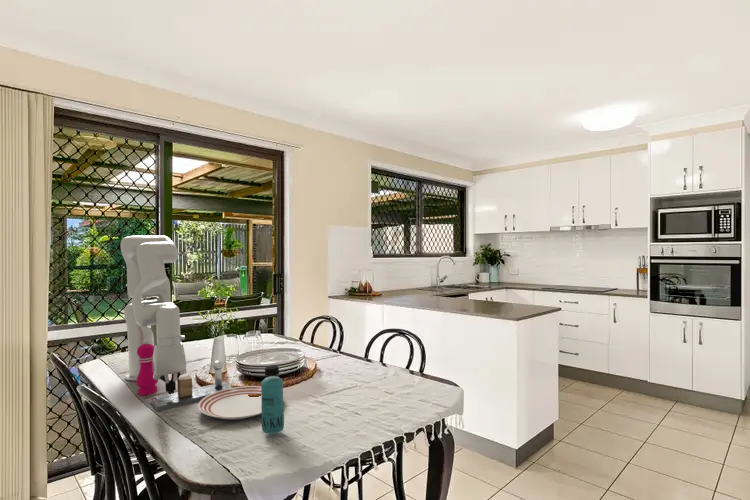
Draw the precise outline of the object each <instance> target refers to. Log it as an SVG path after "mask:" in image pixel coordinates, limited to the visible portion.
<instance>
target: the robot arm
mask: <svg viewBox="0 0 750 500" xmlns="http://www.w3.org/2000/svg"><path fill="white" fill-rule="evenodd" d="M120 252H121V256H122V258H123V259H124V262H125V265H126V277H127V278H126V283H127V284H126V286H127V293H128V296H129V297H130V298H131V302H130V303H128V304H127V305H125V307H124V310H123V315H124V319H125V325H126V331H127V349H128V350H127V351H128V352H127V353H128V369H129V371H128V373H126V374H125V375H124V379H125V380H127V381H130V380H131V382H132V381H134V382H135V381H137V377H138V374H139V372H140V366H141V365H140V362H139V358H140V357H139V356H138V355H137V349H138V347H139V346H141V345H143V341H144V340H148V344H152V345H153V346H154V336H153V332H152V330H151V325H156V332H157V346H155V347H154V352H153V372H154V375H153V378H154V379H155V380H158V381H159V380H161V381H163V383H164V384H165V392H166V393H168V394H173V393H175V391H176V390H177V386H176V385H177V383H176V382H177V379H178V378H179V377H181V376H183V375H185V374H187V371H188V370H187V359H186V354H185V348H184V344H183V342H182V341H183V340H186V337H185V335H181V321H180V320H181V317H180V316H181V315H180V307H178V305H176V304H175V303H174V302H172V301H171V300H172V299H171V297H172V295H171V284H170V282H171V281H170V280H169V279H170V278H168V276H167V273H166V267H165V264H171V263H172V264H173V263H175V262H176V261H177V260H178V257H179V250H178V247H177V246H176V244H175V242H174V241H173V240H171V238H170V237H168V236H166V235H130V236H129V235H128V236H126V237H123V238H122V239H121V241H120ZM150 297H158V300H149V301H148V300H147V301H146V300H142V299H147V298H150ZM169 375H171V379H170V377H169Z"/></svg>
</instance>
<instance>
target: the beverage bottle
mask: <svg viewBox="0 0 750 500" xmlns="http://www.w3.org/2000/svg"><path fill="white" fill-rule="evenodd" d="M279 369H280V368H279V366H278V365H268V366H265V368H264V376H266V377H265V378H264V379H263V380H262V381H261V382H260V386H261V395H262V396H261V402H262V404H261V405H262V411H261V412H262V414H261V421H260V422H261V430H262V432H263V434H267V435H273V434H277V433H280V432H282V431H283V430H284V428H285V411H284V410H285V409H284V408H285V405H284V380H283V379H282V378H280V377H279V376H278V375H280V370H279Z"/></svg>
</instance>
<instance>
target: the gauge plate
mask: <svg viewBox="0 0 750 500" xmlns="http://www.w3.org/2000/svg"><path fill="white" fill-rule="evenodd" d="M223 367H224V363H223V362H222V361H220V360H216V361H214V362H213V364H212V368H213V370H214V383H212V384H209V385H204V386H200V387H195V388H192V393H193V395H189V396H185V397H180V396H179V395H178V391H177V392H174V393H173V394H169V393H168V394H165V395H164V394H163V395H159V396H156V397H151V399H150V400H151V401H150V402H151V405H152V406H153V407H154V408H155V410H156V412H160V411H165V410H168V408H169V409H173V408H177V407H180V406H186V405H189V404H192V403H193V404H194V403H196V402H200V401H201V400H202V399H203V398H205V397H206V396H208V395H210V394H212V393H215V392H218V391H221V390H225V389H229V388H234V387H232V386H231V385H230V384H229V383H228V382H226V381H223V377H222V376H223V375H222V370H223Z"/></svg>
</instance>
